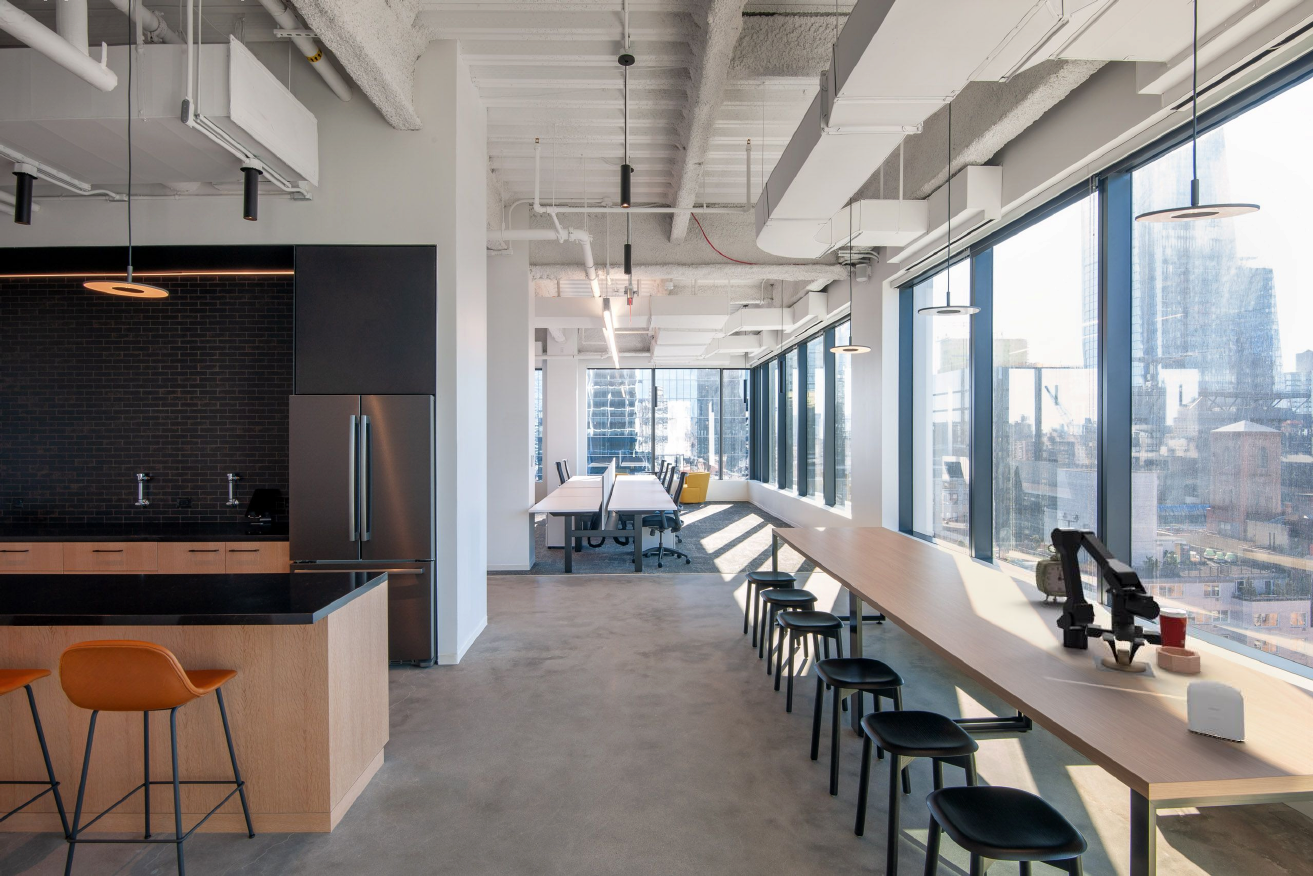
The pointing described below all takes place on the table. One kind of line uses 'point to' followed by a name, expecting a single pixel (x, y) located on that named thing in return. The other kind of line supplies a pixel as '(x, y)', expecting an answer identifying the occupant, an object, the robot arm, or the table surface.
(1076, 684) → the table surface
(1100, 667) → the mat
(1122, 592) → the robot arm
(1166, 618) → the paper cup
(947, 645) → the table surface
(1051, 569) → the tabletop clock
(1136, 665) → the lid
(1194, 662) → the bowl
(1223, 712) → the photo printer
